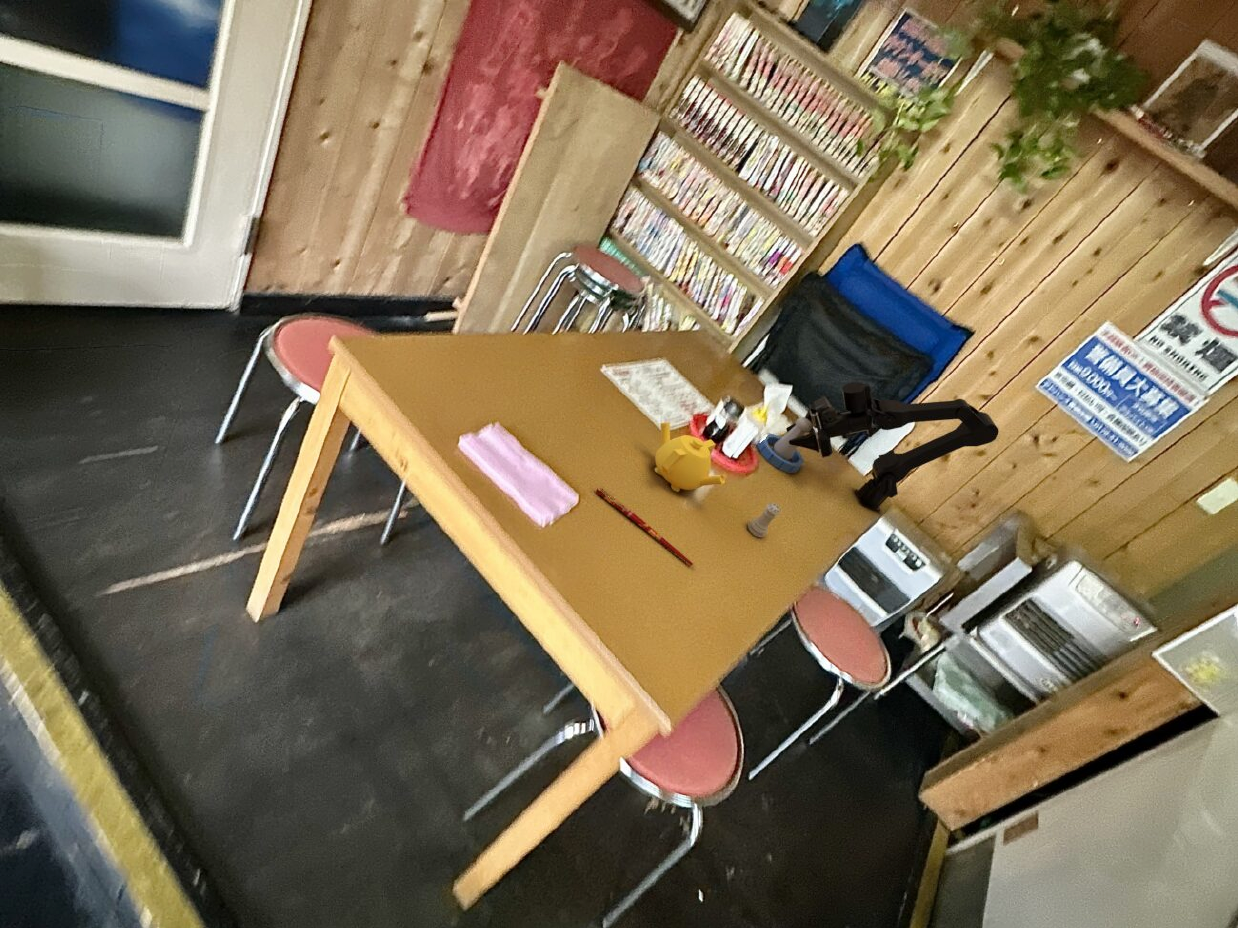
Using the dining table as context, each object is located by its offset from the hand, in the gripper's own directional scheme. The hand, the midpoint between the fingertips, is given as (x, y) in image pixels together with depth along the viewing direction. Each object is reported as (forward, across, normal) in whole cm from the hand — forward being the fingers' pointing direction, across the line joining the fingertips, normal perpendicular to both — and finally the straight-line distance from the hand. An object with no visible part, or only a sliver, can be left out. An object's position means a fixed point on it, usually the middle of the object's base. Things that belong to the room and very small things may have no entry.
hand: (787, 436), depth 199 cm
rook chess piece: (+11, +39, -2) cm, 41 cm away
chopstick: (+30, +56, -21) cm, 68 cm away
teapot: (+26, +34, -17) cm, 46 cm away
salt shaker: (+4, 0, +6) cm, 7 cm away
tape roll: (+4, 0, +6) cm, 7 cm away
